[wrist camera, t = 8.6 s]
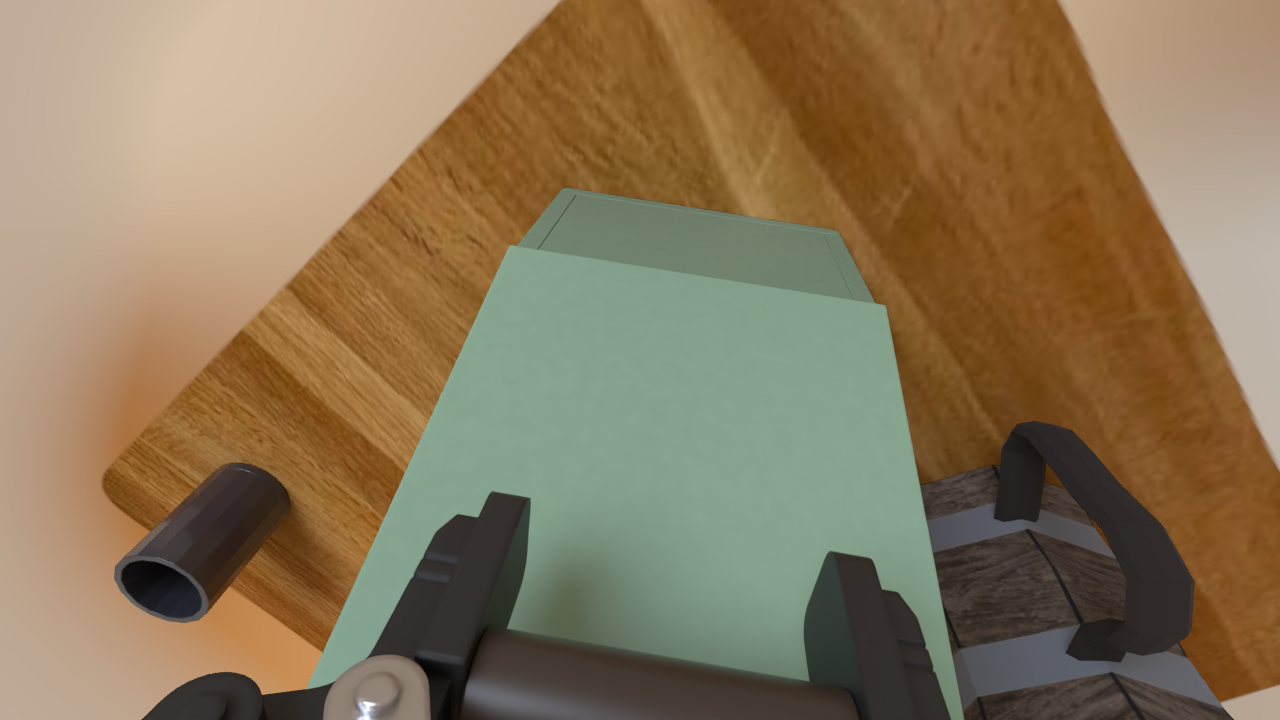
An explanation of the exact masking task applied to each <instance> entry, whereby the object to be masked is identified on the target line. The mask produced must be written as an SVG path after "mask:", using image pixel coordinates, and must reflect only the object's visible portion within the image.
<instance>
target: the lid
mask: <svg viewBox="0 0 1280 720" xmlns="http://www.w3.org/2000/svg"><path fill="white" fill-rule="evenodd" d="M491 491H495V492H500V493H506V494H512V495H518V496H523V497H529V498H530V499H531V509H530V523H529V537H528V551H527V561H526V567H525V572H524V577H523V581H522V585H521V588H520V591H519V594H518V597H517V600H516V603H515V606H514V609H513V612H512V615H511V618H510V621H509V624H508V627H507V628H502V627H496V626H490V627H488V628H487V629H486V630H485V632H484V633H483V635H482V637H481V639H480V641H479V643H478V646H477V648H476V651H475V653H474V656H473V659H472V662H471V665H470V668H469V672H468V675H467V678H466V682H465V686H464V689H463V693H462V697H461V702H460V706H459V711H458V717H457V720H860V718H859V714H858V710H857V707H856V704H855V701H854V699H853V697H852V695H851V694H850V692H849V691H848V690H846V689H845V688H843V687H839V686H833V685H827V684H822V683H816V682H810V681H809V675H808V667H807V660H806V653H805V646H804V618H805V612H806V608H807V605H808V602H809V600H810V597H811V594H812V591H813V589H814V586H815V583H816V581H817V578H818V575H819V573H820V570H821V567H822V564H823V562H824V559H825V557H826V555H827V553H828V552H830V551H834V552H840V553H845V554H851V555H857V556H862V557H868V558H871V559H872V560H873V562H874V564H875V567H876V570H877V574H878V577H879V581H880V584H881V588H882V589H883V590H889V591H894V592H898V593H899V594H900V595H901V597H902V598H903V599H904V601H905V602H906V603H907V605H908V606H909V607H910V609H911V610H912V611H913V612H914V614H915V615H916V616H917V618H918V621H919V624H920V627H921V630H922V633H923V636H924V639H925V642H926V649H927V650H928V651H929V654H930V657H931V660H932V663H933V666H934V667H933V672H936V675H937V678H938V681H939V684H940V688H941V691H942V694H943V697H944V700H945V703H946V706H947V709H948V712H949V715H950V718H951V720H964V716H963V711H962V705H961V700H960V695H959V689H958V684H957V679H956V674H955V668H954V663H953V658H952V652H951V647H950V642H949V637H948V631H947V626H946V621H945V615H944V610H943V605H942V600H941V594H940V589H939V584H938V578H937V573H936V568H935V563H934V557H933V552H932V547H931V541H930V536H929V531H928V526H927V520H926V515H925V510H924V504H923V499H922V494H921V489H920V483H919V478H918V473H917V467H916V462H915V457H914V452H913V446H912V441H911V436H910V430H909V425H908V420H907V415H906V409H905V404H904V399H903V393H902V388H901V383H900V378H899V372H898V367H897V362H896V356H895V351H894V346H893V341H892V335H891V330H890V325H889V319H888V314H887V309H886V306H885V305H881V304H875V303H869V302H863V301H856V300H850V299H844V298H838V297H831V296H825V295H819V294H813V293H806V292H800V291H794V290H788V289H781V288H775V287H769V286H763V285H756V284H750V283H744V282H738V281H732V280H725V279H719V278H713V277H707V276H700V275H694V274H688V273H682V272H675V271H669V270H663V269H657V268H650V267H644V266H638V265H632V264H625V263H619V262H613V261H607V260H600V259H594V258H588V257H582V256H575V255H569V254H563V253H557V252H550V251H544V250H538V249H532V248H525V247H519V246H513V245H510V246H509V247H508V249H507V252H506V254H505V256H504V258H503V260H502V263H501V265H500V267H499V269H498V271H497V273H496V276H495V278H494V280H493V282H492V284H491V287H490V289H489V291H488V293H487V295H486V297H485V300H484V302H483V304H482V306H481V308H480V311H479V313H478V315H477V317H476V319H475V321H474V324H473V326H472V328H471V330H470V332H469V335H468V337H467V339H466V341H465V343H464V345H463V348H462V350H461V352H460V354H459V356H458V359H457V361H456V363H455V365H454V367H453V369H452V372H451V374H450V376H449V378H448V380H447V383H446V385H445V387H444V389H443V391H442V394H441V396H440V398H439V400H438V402H437V404H436V407H435V409H434V411H433V413H432V415H431V418H430V420H429V422H428V424H427V426H426V428H425V431H424V433H423V435H422V437H421V439H420V442H419V444H418V446H417V448H416V450H415V452H414V455H413V457H412V459H411V461H410V463H409V466H408V468H407V470H406V472H405V474H404V476H403V479H402V481H401V483H400V485H399V487H398V490H397V492H396V494H395V496H394V498H393V500H392V503H391V505H390V507H389V509H388V511H387V514H386V516H385V518H384V520H383V522H382V524H381V527H380V529H379V531H378V533H377V535H376V538H375V540H374V542H373V544H372V546H371V548H370V551H369V553H368V555H367V557H366V559H365V562H364V564H363V566H362V568H361V570H360V572H359V575H358V577H357V579H356V581H355V583H354V586H353V588H352V590H351V592H350V594H349V596H348V599H347V601H346V603H345V605H344V607H343V610H342V612H341V614H340V616H339V618H338V620H337V623H336V625H335V627H334V629H333V631H332V634H331V636H330V638H329V640H328V642H327V644H326V647H325V649H324V651H323V653H322V656H321V658H320V660H319V662H318V664H317V666H316V668H315V671H314V673H313V675H312V677H311V679H310V682H309V684H308V686H307V688H306V689H311V688H316V687H320V686H324V685H327V684H330V683H332V682H334V681H336V680H337V679H338V678H339V677H340V676H341V675H342V674H343V673H344V672H345V671H346V670H347V669H349V668H350V667H352V666H353V665H355V664H357V663H359V662H360V661H362V660H365V659H366V658H367V657H368V656H369V654H370V653H371V651H372V650H373V648H374V646H375V645H376V643H377V641H378V639H379V637H380V635H381V633H382V631H383V630H384V628H385V626H386V624H387V622H388V620H389V618H390V617H391V615H392V613H393V611H394V609H395V607H396V605H397V603H398V602H399V600H400V598H401V596H402V594H403V592H404V590H405V588H406V587H407V585H408V583H409V581H410V579H411V578H413V575H414V572H415V570H416V568H417V566H418V564H419V562H420V560H421V559H423V557H424V553H425V551H426V549H427V547H428V545H429V544H430V542H431V540H432V538H433V536H434V534H435V532H436V531H437V530H438V529H440V528H441V527H442V526H443V525H445V524H446V523H447V522H448V521H449V520H451V519H452V518H453V517H454V516H455V515H457V514H461V515H467V516H472V517H478V516H479V514H480V512H481V510H482V508H483V506H484V504H485V501H486V499H487V497H488V495H489V494H490V492H491Z"/></svg>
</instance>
